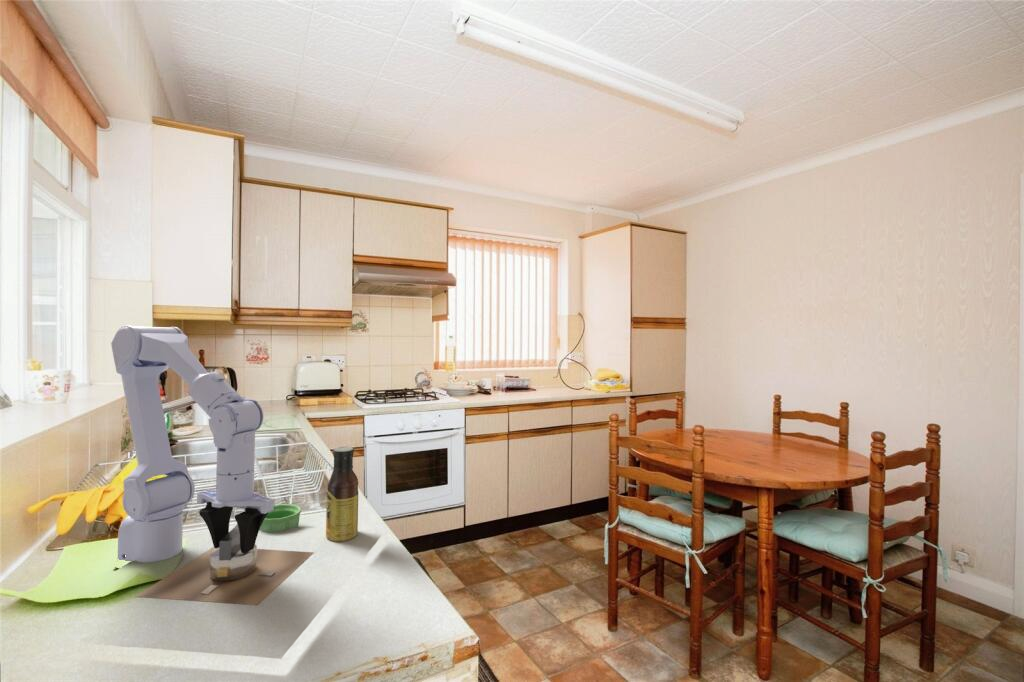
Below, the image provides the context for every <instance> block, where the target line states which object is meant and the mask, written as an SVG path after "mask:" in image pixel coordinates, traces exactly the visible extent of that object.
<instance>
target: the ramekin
mask: <svg viewBox="0 0 1024 682" xmlns="http://www.w3.org/2000/svg"><path fill="white" fill-rule="evenodd" d="M301 513H302V508H301V507H300V506H298V505H295V504H289V503H288V504H287V503H286V504H274V510H272V511H270V512H269V513H268V514H267V516H266V517H265V519H264V521H263V523H262V525H261V527H260V529H259V531H261V532H267V533H270V532H271V533H272V532H273V533H274V532H282V531H286V530H289V529H293V528H299V525H300V517H301V516H300V515H301Z"/></svg>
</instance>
